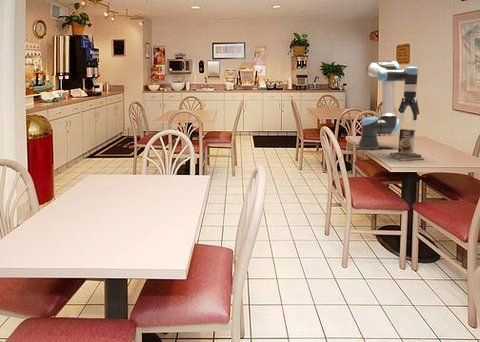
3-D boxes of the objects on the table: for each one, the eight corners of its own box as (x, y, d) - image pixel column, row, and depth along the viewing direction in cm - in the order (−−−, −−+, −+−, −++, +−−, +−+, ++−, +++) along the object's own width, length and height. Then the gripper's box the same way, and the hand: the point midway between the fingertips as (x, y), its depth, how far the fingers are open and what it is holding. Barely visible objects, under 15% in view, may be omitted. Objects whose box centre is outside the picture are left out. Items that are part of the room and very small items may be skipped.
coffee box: (397, 153, 316) (399, 129, 313) (399, 152, 322) (401, 128, 318) (412, 154, 312) (413, 130, 309) (413, 153, 317) (415, 129, 314)
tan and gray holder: (387, 156, 323) (387, 152, 323) (408, 155, 327) (408, 151, 327) (401, 160, 307) (402, 156, 307) (423, 159, 311) (424, 155, 311)
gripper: (427, 92, 297) (424, 125, 302) (404, 90, 321) (401, 121, 326) (416, 92, 296) (413, 126, 300) (394, 90, 319) (392, 121, 324)
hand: (407, 123), depth 313 cm, fingers open, 13 cm apart
